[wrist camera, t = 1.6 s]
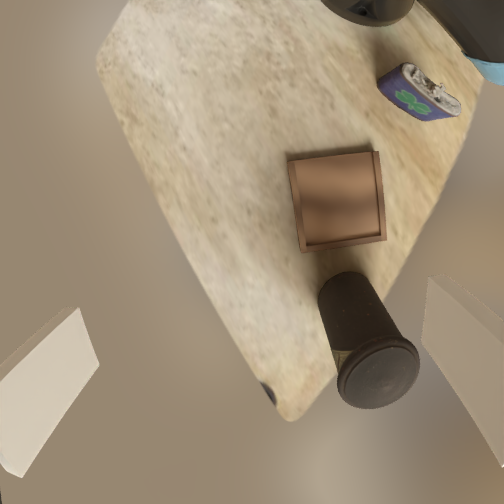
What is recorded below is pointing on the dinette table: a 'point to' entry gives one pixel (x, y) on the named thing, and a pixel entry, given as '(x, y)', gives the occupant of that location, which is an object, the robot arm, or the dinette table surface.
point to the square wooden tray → (338, 200)
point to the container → (365, 344)
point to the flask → (417, 94)
